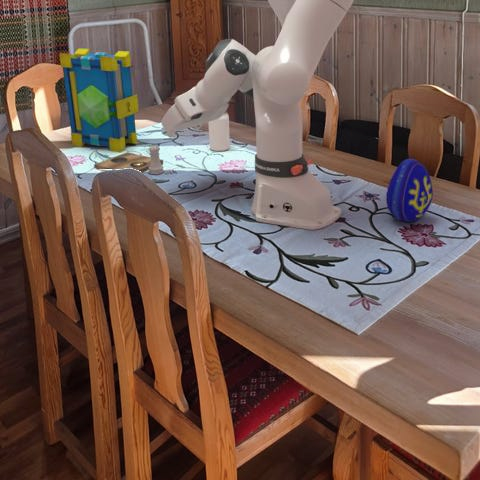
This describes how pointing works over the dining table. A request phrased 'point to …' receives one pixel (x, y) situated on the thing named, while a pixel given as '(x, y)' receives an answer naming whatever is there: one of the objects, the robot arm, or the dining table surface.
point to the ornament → (409, 191)
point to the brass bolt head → (138, 163)
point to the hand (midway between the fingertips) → (182, 131)
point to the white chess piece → (155, 161)
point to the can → (219, 133)
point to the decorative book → (100, 98)
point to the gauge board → (126, 162)
